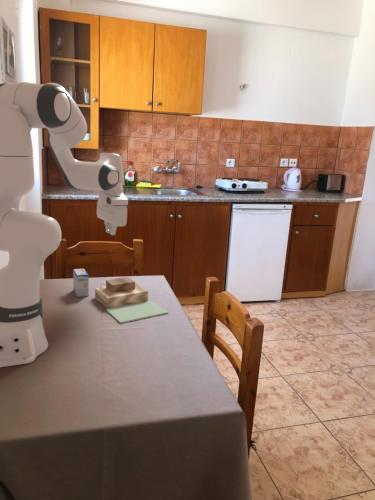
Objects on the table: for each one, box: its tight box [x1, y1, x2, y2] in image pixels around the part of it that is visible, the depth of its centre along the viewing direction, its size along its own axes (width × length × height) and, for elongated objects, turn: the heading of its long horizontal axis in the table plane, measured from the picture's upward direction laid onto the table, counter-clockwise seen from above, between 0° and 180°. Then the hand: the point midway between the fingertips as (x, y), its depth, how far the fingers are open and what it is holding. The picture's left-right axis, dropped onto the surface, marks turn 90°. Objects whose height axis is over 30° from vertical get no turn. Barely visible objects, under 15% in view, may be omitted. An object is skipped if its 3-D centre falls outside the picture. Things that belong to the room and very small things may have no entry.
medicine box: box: [72, 268, 90, 298], centre depth 158 cm, size 8×4×9 cm, turn 25°
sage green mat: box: [105, 300, 169, 325], centre depth 144 cm, size 18×12×1 cm, turn 123°
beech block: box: [94, 282, 149, 309], centre depth 154 cm, size 16×12×4 cm
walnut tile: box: [105, 276, 136, 293], centre depth 154 cm, size 9×6×3 cm, turn 123°
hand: (110, 233), depth 156 cm, fingers open, 2 cm apart
